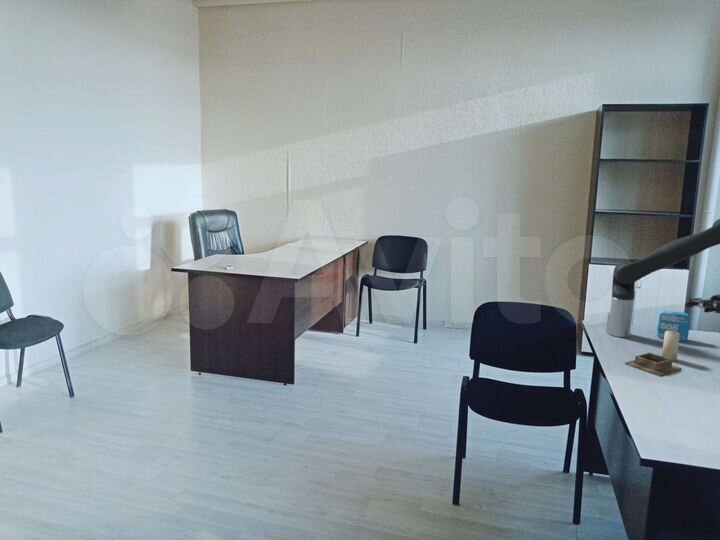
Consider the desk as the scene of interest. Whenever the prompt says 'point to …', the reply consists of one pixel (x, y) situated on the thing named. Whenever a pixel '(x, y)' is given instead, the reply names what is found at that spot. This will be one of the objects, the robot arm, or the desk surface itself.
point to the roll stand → (653, 364)
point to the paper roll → (670, 345)
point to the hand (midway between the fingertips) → (695, 307)
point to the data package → (673, 324)
